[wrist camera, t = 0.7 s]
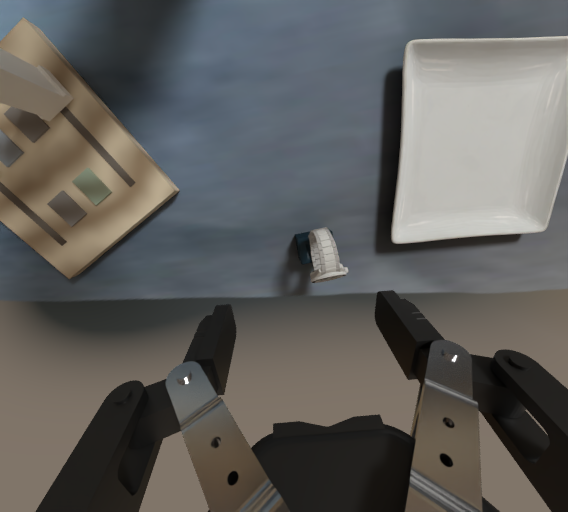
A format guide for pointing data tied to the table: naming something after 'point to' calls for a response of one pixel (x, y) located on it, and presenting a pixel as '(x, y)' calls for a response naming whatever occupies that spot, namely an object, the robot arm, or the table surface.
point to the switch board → (71, 168)
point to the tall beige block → (30, 87)
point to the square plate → (480, 137)
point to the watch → (320, 254)
